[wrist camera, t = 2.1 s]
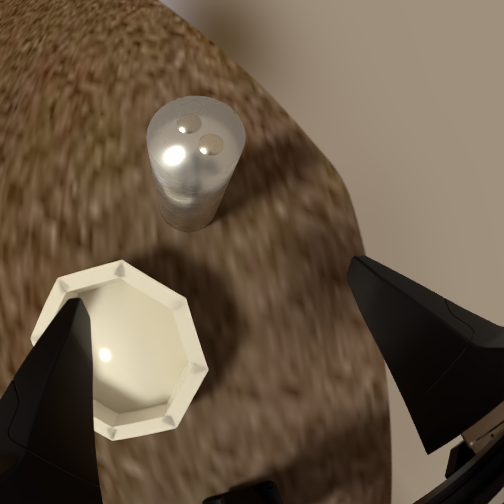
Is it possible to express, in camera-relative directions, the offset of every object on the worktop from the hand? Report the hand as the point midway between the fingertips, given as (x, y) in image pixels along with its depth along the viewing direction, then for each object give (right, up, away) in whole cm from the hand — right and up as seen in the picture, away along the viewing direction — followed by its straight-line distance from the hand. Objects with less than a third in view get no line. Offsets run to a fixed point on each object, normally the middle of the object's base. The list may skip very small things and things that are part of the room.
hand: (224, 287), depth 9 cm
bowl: (-8, -6, +10) cm, 14 cm away
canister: (-4, +5, +13) cm, 14 cm away
